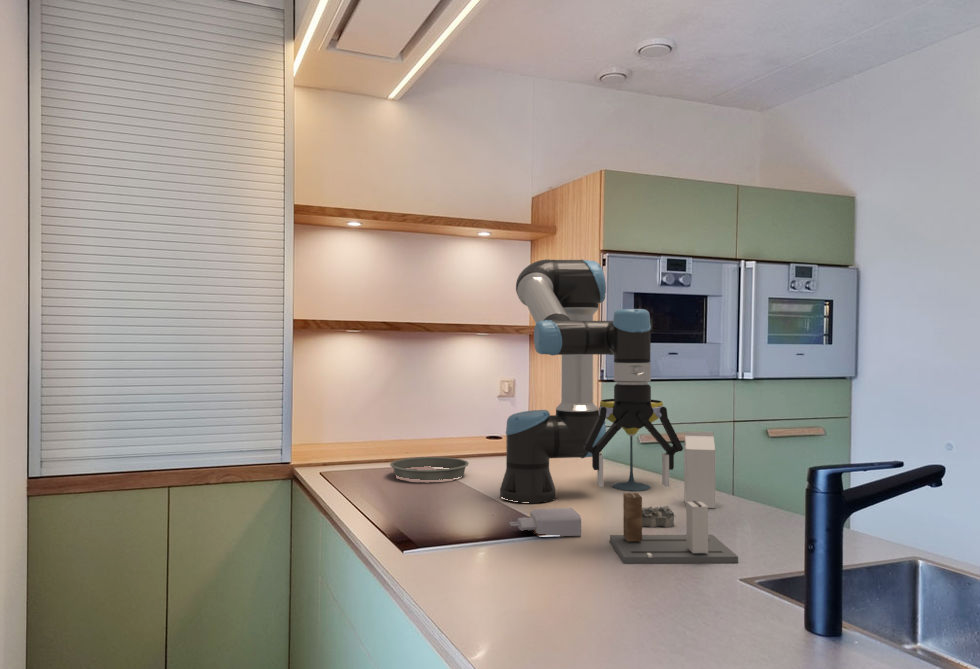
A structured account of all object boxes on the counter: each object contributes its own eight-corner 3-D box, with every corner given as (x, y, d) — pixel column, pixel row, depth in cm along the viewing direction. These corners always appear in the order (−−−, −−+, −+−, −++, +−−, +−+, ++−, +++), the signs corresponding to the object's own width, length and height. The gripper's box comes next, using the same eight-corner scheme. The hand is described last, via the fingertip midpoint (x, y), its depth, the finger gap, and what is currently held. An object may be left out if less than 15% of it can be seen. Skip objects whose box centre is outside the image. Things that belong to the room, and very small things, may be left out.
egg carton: (629, 528, 159) (629, 510, 159) (624, 520, 167) (624, 503, 167) (676, 528, 159) (676, 510, 159) (669, 520, 166) (669, 503, 166)
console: (624, 563, 133) (624, 555, 133) (609, 540, 149) (609, 533, 149) (738, 563, 133) (738, 555, 133) (712, 540, 149) (712, 532, 149)
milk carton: (715, 509, 176) (715, 433, 176) (686, 507, 178) (686, 433, 178) (712, 502, 183) (711, 430, 183) (684, 501, 184) (684, 429, 185)
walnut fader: (627, 541, 143) (627, 496, 143) (623, 535, 147) (623, 491, 147) (642, 541, 143) (641, 496, 143) (637, 535, 147) (637, 491, 147)
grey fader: (692, 553, 135) (692, 505, 135) (686, 546, 139) (686, 500, 139) (708, 553, 135) (707, 505, 135) (701, 546, 139) (701, 500, 139)
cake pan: (483, 479, 215) (483, 464, 215) (413, 488, 202) (413, 473, 202) (443, 467, 236) (443, 453, 236) (377, 475, 222) (377, 460, 222)
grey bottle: (506, 529, 158) (570, 526, 160) (513, 541, 149) (581, 538, 151) (506, 508, 158) (570, 506, 161) (513, 519, 149) (581, 516, 151)
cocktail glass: (631, 478, 215) (631, 397, 215) (676, 488, 200) (676, 401, 200) (587, 485, 205) (587, 400, 205) (631, 496, 190) (631, 405, 190)
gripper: (574, 384, 141) (575, 489, 140) (697, 383, 141) (698, 488, 141) (570, 382, 148) (570, 482, 148) (686, 382, 149) (687, 481, 148)
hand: (633, 485), depth 144 cm, fingers open, 13 cm apart
